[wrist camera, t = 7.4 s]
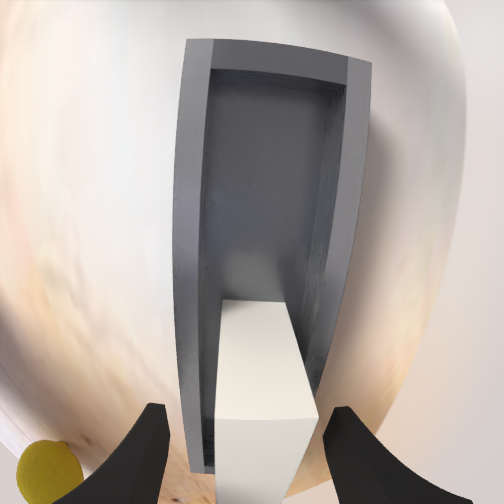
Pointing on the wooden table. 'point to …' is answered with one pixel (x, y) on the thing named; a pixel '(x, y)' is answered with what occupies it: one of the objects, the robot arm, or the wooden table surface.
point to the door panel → (259, 404)
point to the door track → (262, 202)
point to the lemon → (48, 472)
